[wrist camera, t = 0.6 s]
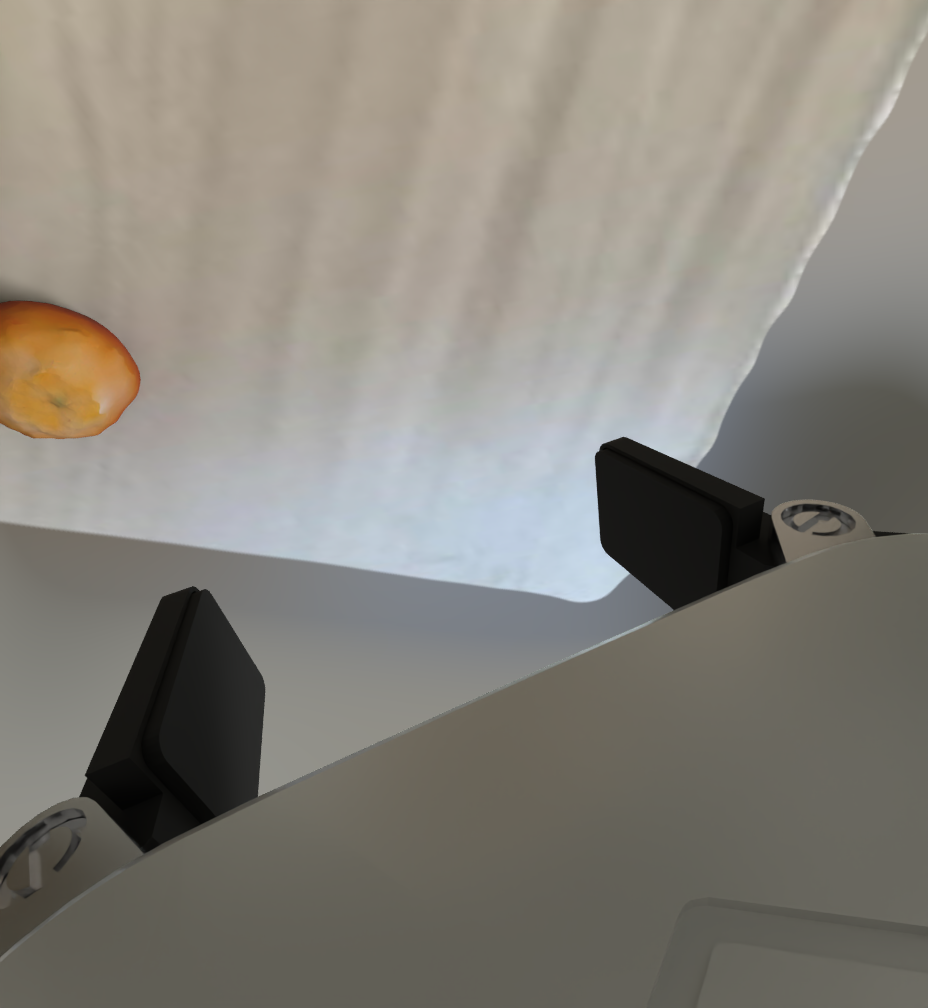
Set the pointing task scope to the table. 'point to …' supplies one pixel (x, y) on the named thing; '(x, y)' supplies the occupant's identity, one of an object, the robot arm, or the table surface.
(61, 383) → the fruit
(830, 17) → the table surface
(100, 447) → the table surface
